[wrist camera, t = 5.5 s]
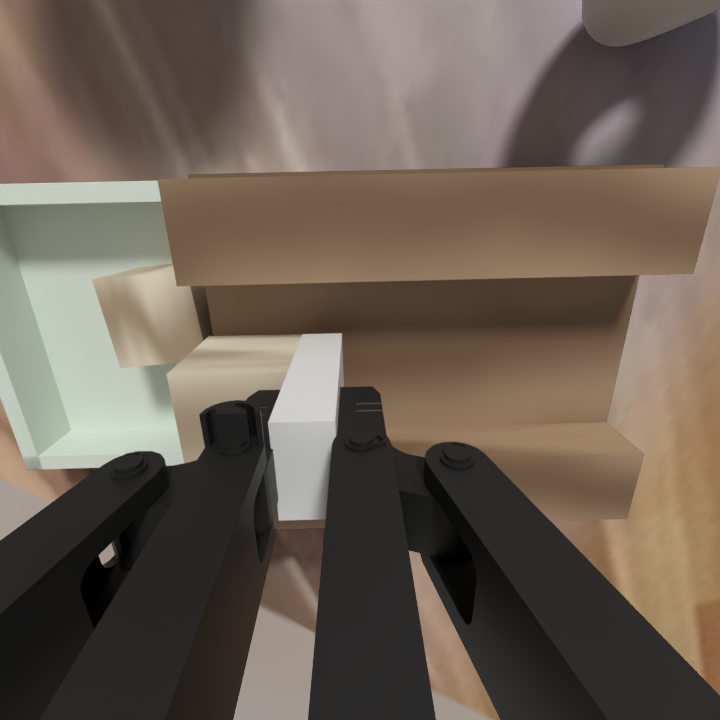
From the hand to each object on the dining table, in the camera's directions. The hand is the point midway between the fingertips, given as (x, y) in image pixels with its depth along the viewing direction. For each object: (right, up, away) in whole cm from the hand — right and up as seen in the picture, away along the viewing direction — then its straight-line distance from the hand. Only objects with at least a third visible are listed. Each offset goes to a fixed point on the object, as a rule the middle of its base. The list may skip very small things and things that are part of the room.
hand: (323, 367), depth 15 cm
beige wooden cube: (-3, -1, +2) cm, 3 cm away
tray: (-11, +2, +7) cm, 13 cm away
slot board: (+4, +3, +7) cm, 8 cm away
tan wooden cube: (-6, +3, +4) cm, 8 cm away
